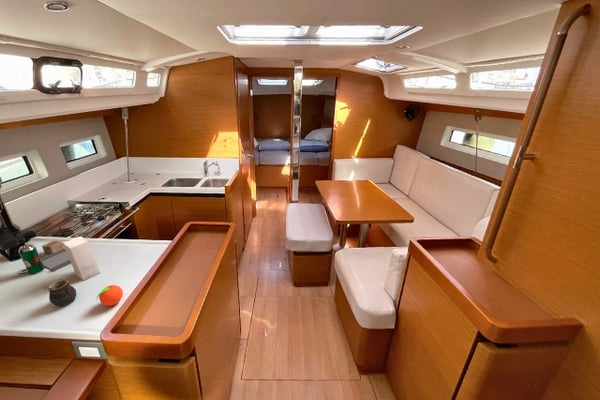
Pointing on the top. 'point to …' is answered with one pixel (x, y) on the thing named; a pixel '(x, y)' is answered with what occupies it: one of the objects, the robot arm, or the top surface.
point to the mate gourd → (61, 293)
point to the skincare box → (81, 257)
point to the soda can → (31, 259)
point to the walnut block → (52, 247)
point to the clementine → (110, 295)
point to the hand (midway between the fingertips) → (11, 261)
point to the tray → (56, 260)
